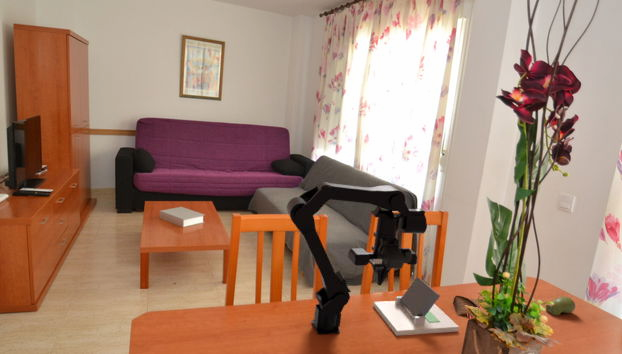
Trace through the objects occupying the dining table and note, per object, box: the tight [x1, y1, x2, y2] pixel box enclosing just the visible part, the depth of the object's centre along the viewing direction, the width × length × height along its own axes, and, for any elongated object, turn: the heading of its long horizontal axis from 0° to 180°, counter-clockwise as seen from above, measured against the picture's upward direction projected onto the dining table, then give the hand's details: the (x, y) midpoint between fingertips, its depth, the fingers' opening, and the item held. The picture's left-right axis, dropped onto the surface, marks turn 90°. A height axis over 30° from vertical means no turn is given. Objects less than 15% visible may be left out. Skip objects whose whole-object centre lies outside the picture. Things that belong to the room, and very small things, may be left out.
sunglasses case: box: [452, 295, 480, 318], centre depth 132 cm, size 18×7×7 cm, turn 77°
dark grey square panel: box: [400, 276, 441, 318], centre depth 124 cm, size 2×10×10 cm
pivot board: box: [372, 295, 460, 337], centre depth 125 cm, size 20×16×4 cm
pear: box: [545, 296, 576, 316], centre depth 139 cm, size 6×5×10 cm
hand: (378, 284), depth 116 cm, fingers closed
